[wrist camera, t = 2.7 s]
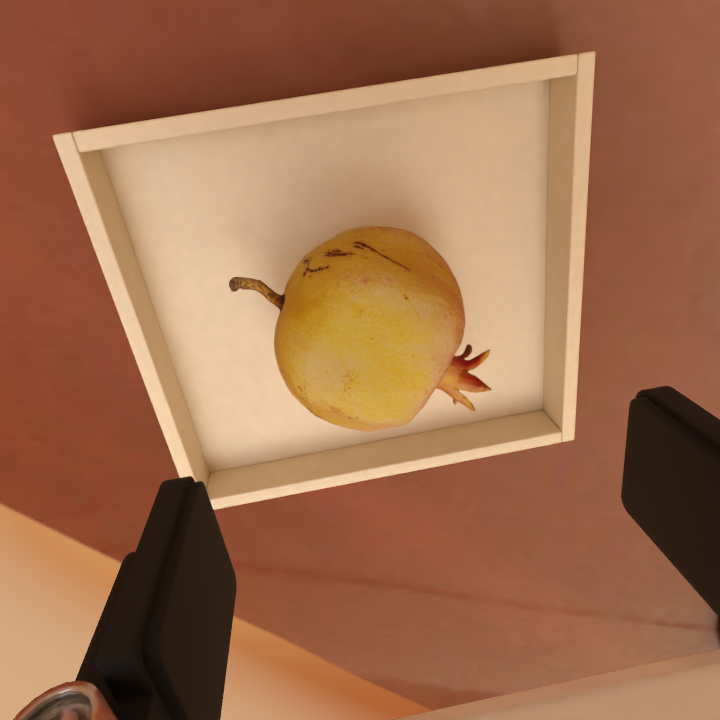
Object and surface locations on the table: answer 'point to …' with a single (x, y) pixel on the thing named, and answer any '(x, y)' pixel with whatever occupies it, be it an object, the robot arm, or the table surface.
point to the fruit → (371, 329)
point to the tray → (326, 220)
